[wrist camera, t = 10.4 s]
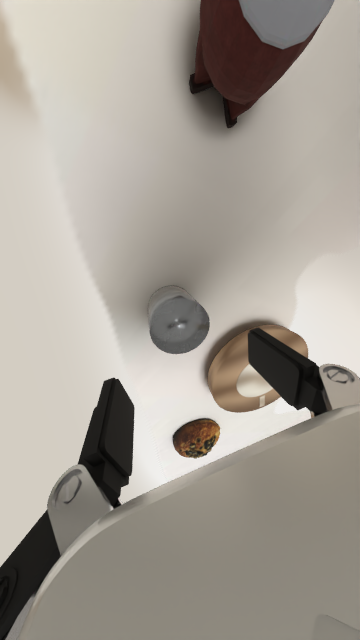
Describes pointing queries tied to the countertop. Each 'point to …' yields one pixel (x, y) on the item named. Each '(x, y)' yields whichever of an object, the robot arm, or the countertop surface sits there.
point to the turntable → (246, 372)
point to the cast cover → (176, 320)
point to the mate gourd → (251, 46)
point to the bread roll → (196, 438)
